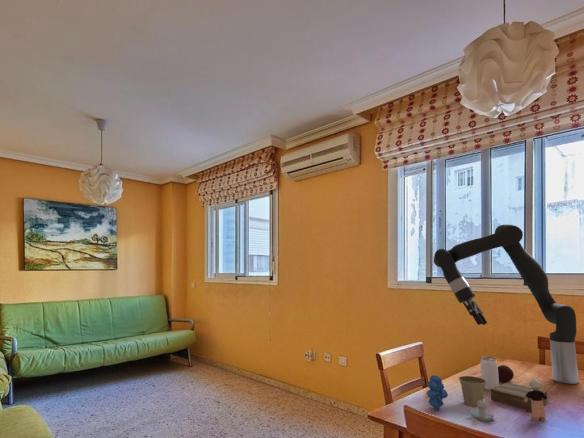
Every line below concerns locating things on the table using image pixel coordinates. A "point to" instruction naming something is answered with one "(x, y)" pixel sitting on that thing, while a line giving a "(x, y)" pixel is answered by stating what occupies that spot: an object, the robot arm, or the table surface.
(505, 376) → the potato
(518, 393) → the walnut block
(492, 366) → the can
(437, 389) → the grapes
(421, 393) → the table surface
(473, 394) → the flower pot
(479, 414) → the pacifier
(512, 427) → the table surface
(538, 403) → the grandmother figurine
